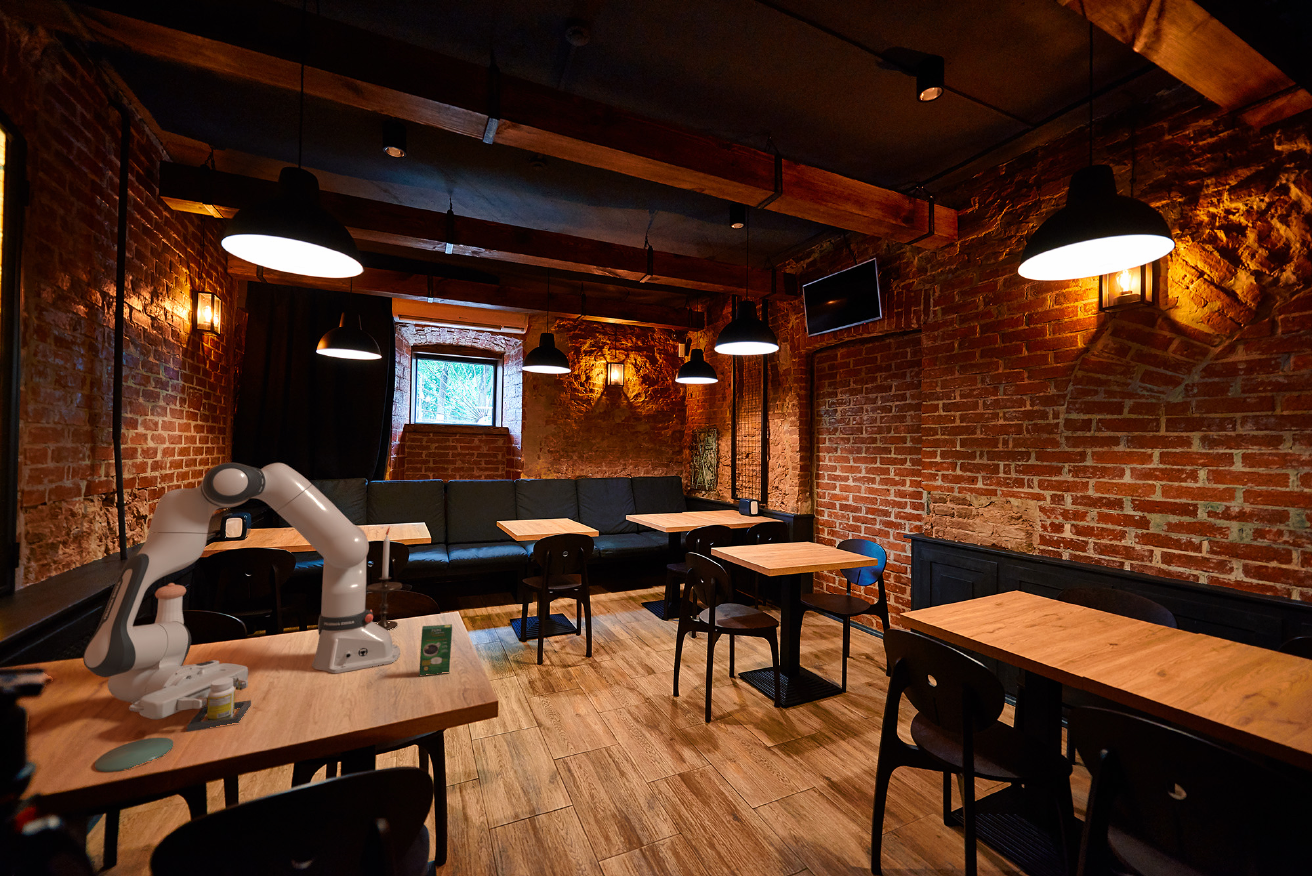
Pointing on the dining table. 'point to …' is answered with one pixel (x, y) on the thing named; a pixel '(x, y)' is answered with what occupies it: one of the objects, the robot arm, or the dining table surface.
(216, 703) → the supplement bottle
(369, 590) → the candlestick
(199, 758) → the dining table surface
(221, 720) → the square metal frame
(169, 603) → the pepper shaker
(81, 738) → the dining table surface
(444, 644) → the coffee box
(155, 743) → the green coaster
